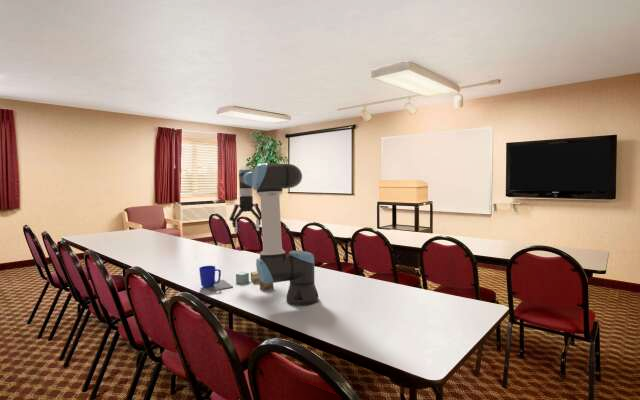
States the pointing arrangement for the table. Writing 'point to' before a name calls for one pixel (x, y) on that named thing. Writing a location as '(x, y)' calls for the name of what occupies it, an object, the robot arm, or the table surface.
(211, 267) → the mug
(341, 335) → the table surface
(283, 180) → the robot arm
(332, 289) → the table surface
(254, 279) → the oak block
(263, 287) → the walnut block
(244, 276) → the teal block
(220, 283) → the trivet
